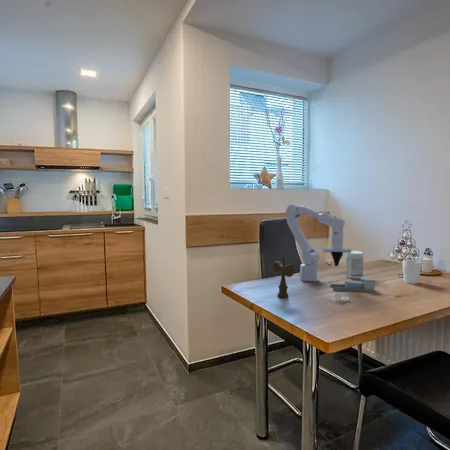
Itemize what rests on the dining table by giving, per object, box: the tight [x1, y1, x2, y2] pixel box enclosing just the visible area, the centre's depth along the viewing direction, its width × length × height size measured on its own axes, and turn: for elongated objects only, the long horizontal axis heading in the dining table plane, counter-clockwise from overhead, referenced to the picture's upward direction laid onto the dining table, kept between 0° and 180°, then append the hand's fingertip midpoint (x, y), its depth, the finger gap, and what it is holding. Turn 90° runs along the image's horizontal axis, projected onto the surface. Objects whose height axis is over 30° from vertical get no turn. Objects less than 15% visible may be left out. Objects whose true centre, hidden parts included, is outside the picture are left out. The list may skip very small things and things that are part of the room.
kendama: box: [272, 255, 296, 299], centre depth 148 cm, size 6×10×20 cm, turn 33°
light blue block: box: [344, 280, 364, 288], centre depth 160 cm, size 12×4×4 cm, turn 84°
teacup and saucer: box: [331, 291, 351, 302], centre depth 144 cm, size 9×8×4 cm
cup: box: [402, 258, 423, 285], centre depth 172 cm, size 9×9×12 cm
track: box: [329, 276, 376, 293], centre depth 161 cm, size 20×7×6 cm, turn 84°
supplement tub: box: [344, 250, 364, 280], centre depth 183 cm, size 10×10×15 cm
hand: (336, 265), depth 169 cm, fingers closed
